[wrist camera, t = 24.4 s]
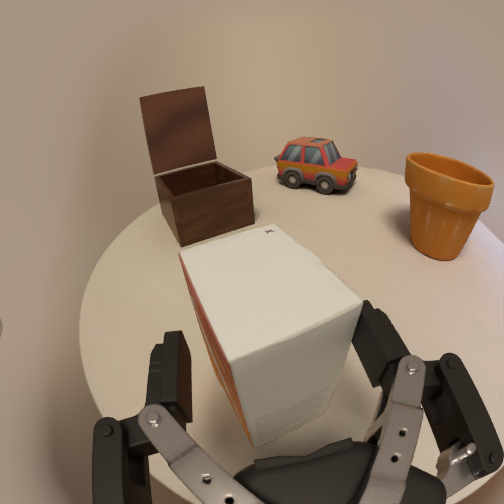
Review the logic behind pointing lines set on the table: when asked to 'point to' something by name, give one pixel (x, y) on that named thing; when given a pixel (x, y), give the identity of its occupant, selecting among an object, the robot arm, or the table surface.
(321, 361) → the small box
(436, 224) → the flower pot
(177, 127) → the lid
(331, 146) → the toy car
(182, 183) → the case
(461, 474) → the robot arm
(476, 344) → the table surface
